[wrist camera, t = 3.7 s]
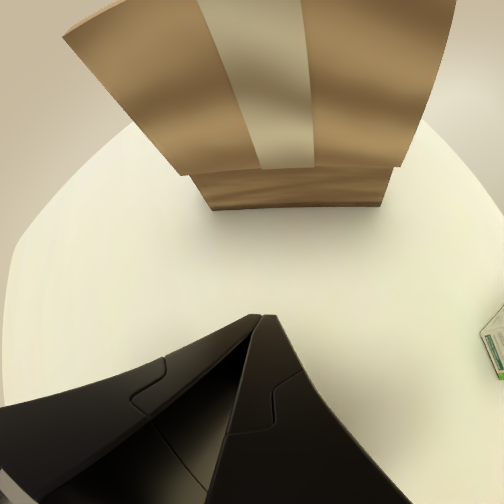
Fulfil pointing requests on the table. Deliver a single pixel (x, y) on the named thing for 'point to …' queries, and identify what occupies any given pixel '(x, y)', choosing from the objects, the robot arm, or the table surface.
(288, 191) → the brown wooden box base
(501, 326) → the syrup box
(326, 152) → the lid
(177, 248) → the table surface
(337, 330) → the table surface
